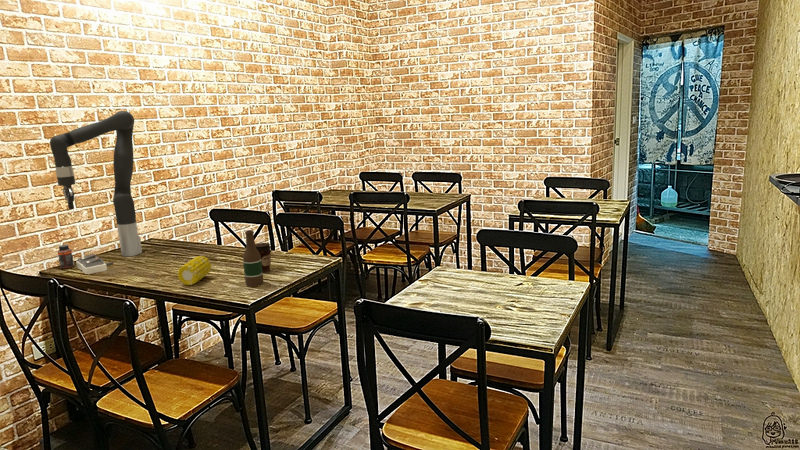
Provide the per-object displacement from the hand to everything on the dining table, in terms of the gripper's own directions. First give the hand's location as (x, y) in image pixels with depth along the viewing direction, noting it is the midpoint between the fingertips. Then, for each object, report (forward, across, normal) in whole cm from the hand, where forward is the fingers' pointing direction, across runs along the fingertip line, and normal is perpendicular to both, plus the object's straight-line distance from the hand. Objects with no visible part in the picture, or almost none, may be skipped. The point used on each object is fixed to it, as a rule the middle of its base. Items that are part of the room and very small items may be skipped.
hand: (71, 209), depth 271 cm
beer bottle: (+27, -104, -44) cm, 116 cm away
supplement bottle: (+27, -10, +8) cm, 30 cm away
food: (+27, -80, -28) cm, 89 cm away
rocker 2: (+22, -26, 0) cm, 35 cm away
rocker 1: (+22, -18, 0) cm, 28 cm away
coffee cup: (+27, -91, -56) cm, 110 cm away
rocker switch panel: (+27, -22, -3) cm, 35 cm away
